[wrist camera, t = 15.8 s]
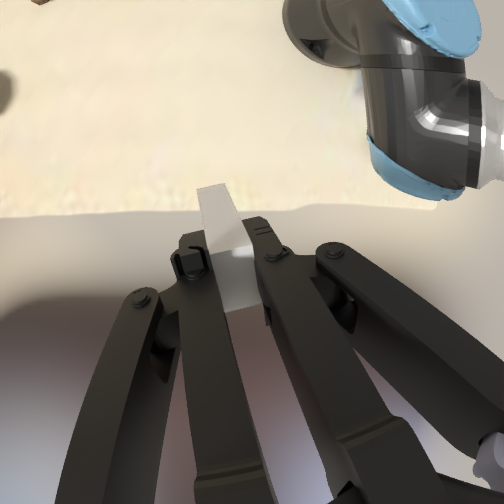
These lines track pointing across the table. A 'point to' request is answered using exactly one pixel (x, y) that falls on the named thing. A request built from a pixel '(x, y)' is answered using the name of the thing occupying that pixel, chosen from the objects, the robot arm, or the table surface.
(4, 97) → the table surface
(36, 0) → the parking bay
